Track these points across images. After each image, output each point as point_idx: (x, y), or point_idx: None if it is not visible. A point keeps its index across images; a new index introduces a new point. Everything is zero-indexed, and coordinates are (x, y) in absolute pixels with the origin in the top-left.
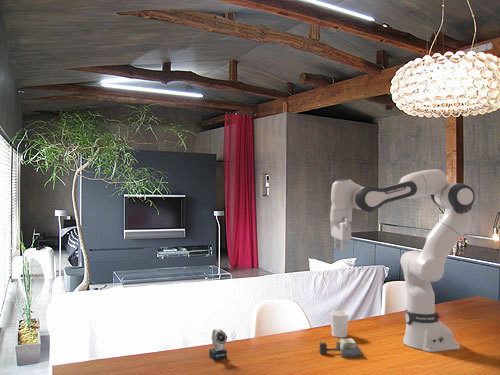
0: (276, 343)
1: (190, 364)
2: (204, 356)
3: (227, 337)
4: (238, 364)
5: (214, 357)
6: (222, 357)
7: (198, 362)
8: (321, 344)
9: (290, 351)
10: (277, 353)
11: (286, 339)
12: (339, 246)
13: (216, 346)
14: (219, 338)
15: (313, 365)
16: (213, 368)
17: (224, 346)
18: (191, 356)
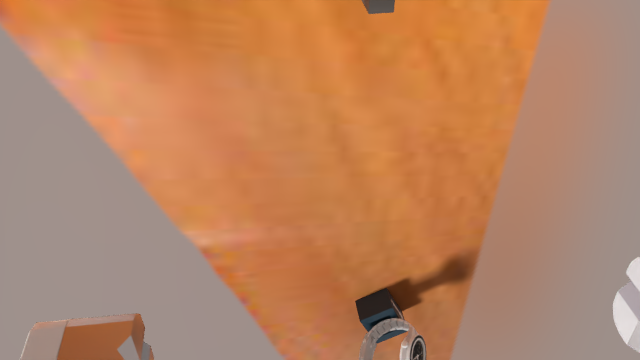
0: (247, 162)
1: None
2: None
3: (407, 341)
4: (437, 257)
5: (403, 317)
6: (392, 299)
7: None
8: (393, 7)
9: (339, 114)
10: (357, 159)
11: (192, 125)
12: (121, 353)
13: (374, 335)
14: (419, 357)
15: (493, 39)
16: (453, 304)
17: (411, 325)
18: None
